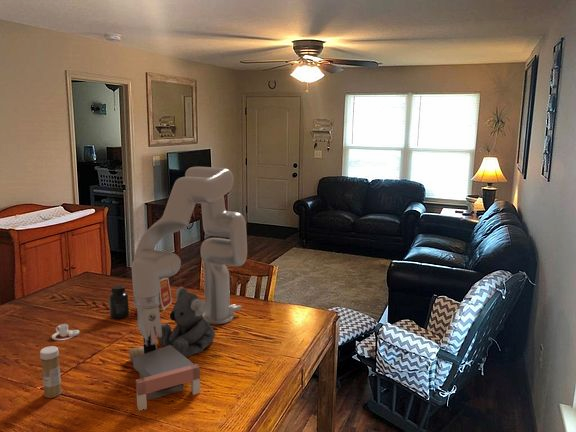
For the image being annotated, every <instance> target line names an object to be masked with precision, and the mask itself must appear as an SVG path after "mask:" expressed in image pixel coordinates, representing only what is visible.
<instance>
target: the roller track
mask: <svg viewBox="0 0 576 432" xmlns="http://www.w3.org/2000/svg"><path fill="white" fill-rule="evenodd" d="M157 349H158V346H157V344H156V350H157ZM128 354H129V355H128V356H129V361H130V363H131V364H133V358H134V357H137V356H140V355H143V354H144V345H143V346H139V347H135V348H134V347H133V348H131V349H129V350H128ZM134 369H135V368H134ZM135 371H136V372H138V371H137V370H136V369H135ZM138 373H139V372H138ZM139 377H140V378H139V379H141V378H144V377H143V376H142V375H141V374H140V373H139ZM184 385H185V384H184V383H182V384H179V385H176V386H173V387H169V388H166V389H162V390H159V391H155V392H152V393H147V400H148V401H150V400H154V399H158V398H161V397H164V396H168V395H171V394H175V393H177V392H182V391H184V390H185V386H184Z"/></svg>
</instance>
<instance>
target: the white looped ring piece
mask: <svg viewBox="0 0 576 432" xmlns="http://www.w3.org/2000/svg"><path fill="white" fill-rule="evenodd" d="M55 330H56V332H55V333H54V334H52V335H51V339H52V340H54V341H65V340H70V339H72V338H74V337H76V336H79V334H80V330H79V329H74V330H73V329H69V324H68V323H62V324H59V325H57V326H55ZM58 335H60V337H62V338H57V336H58ZM67 336H68V337H67Z"/></svg>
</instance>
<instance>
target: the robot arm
mask: <svg viewBox="0 0 576 432" xmlns="http://www.w3.org/2000/svg"><path fill="white" fill-rule="evenodd" d="M234 180H235V177H234V175H233V172H232V171H231V170H230V169H228V168H224V167H210V166H192V167H189V168H188V169H187V170H186V171H185V173H184V176H182V177H178V178H177V179H176V180H175V181H174V184H173V186H172V189H171V191H170V195H169V197H168V200H167V203H166V206H165V208H164V211H163V214H162V216H161V217H160V218H159V219H158V220H157V221H156V222H154V223H153V224H152V225H151V226H150V227H149V228H148V229H147V230H146V231H145V232H144V233H143V235H142V236H141V238H140V240H139V243H138V244H137V247H136V250H135V253H134V257H133V261H132V263H131V277H132V279H131V280H132V292H133V294H132V296H133V307H135V308H136V311H137V312H136V315H137V317H136V318H137V327H138V330H139V332H140V334H141V336H142V342H143V346H144V354H146V353H148V352H151V351H154V350H156V345H157V340H156V339H157V338H156V337H157V336H158V337H160V338H161V337H162V329H161V325H162V322H161V321H162V320H161V312H160V310H159V307H158V305H159V304H160V286H159V280H160V279H163V278H168V279H169V278H170V277H173V276H175V275H176V274H178V272H179V271H180V269H181V266H182V265H181V264H182V260H181V258H180V256H179V255H177V254H176V253H174V252H171V251H162V250H156V249H155V248H156V246H157V245H158V243H159V242H160V241H161V240H162V239H164V238H165V237H167V236H169V235H172V234H174V233H177V232H180V231H182V230H185V229H186V228H188V226H189V225H190V221H191V217H192V215H193V212H194V210H195V206H196V204H200V205H201V217H202V219H201V220H202V227H203V228H202V229H203V232H204V233H205V234H207V235H208V236H213V237H210V238H207V239H205V240H204V241H202V242H201V245H200V256H201V261H202V264H203V265H202V266H203V289H204V297H203V298H204V304H205V309H206V310H205V313H203V315H202V316H203V318H204V319H205V321H206V322H208V323H209V324H210V325H222V324H223V325H224V324H227V323H230V322H231V321H233V320H234V317H235V313H234V312H238V311H241V310H242V305H241V304H239V305H236V304H235V303H234V304H230V303H231V301H230V299H231V297H230V296H231V295H230V291H231V290H230V272H229V268H228V267H227V266H232V267H241V266H243V265H244V264H245V262H246V261H247V259H248V258H247V257H248V241H247V238H248V236H247V235H248V234H247V223H246V219H245V217H244V216H243V214H242V213H240V212H237V211H230V210H229V211H227V209H226V202H225V195H227V194H228V193H229V192H230V191H231V190H232V188H233V186H234V182H235V181H234ZM227 238H228V239H227Z"/></svg>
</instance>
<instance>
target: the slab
mask: <svg viewBox="0 0 576 432" xmlns="http://www.w3.org/2000/svg"><path fill="white" fill-rule="evenodd" d="M132 364H133V368H134V369H136V370H137V371H136V370H135V371H136V372H138V373H140V374H141V375H142V376H143V377H144V378H145V377H149V376H152V375H156V374H160V373H164V372H167V371H171V370H175V369H179V368H183V367H186V366H190V365H194V364H195V363H193V362H192V361H191V360H190V359H188V357H185V356H183V355H182V354H181V353H180V352H179V351H177V350H176V349H175V348H174V347H172V346H171V345H168V346H163V347H159V348H157V350H154V351H151V352H148V353H146V354H143V355H140V356H137V357H134V358H133V363H132ZM140 374H139V375H140Z"/></svg>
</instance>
